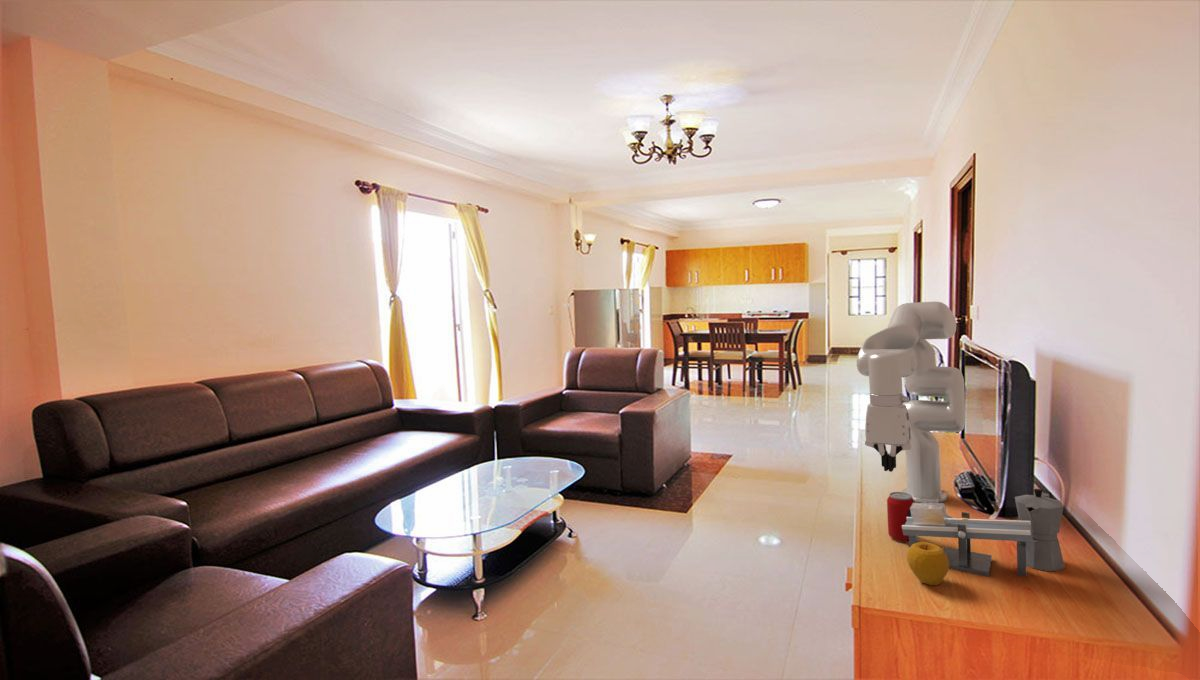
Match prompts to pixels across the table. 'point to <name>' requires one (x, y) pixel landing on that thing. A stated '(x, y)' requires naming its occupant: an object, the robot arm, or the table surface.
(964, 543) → the stand
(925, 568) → the apple
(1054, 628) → the table surface
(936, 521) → the rider
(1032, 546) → the coffeepot
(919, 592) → the table surface
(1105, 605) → the table surface
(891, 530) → the beverage can
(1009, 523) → the beam
